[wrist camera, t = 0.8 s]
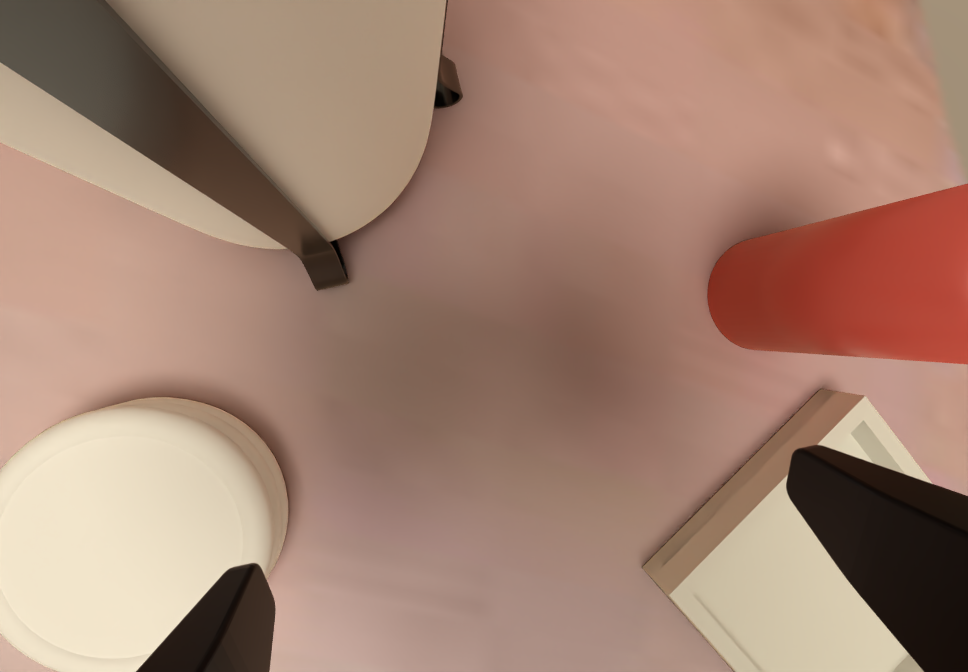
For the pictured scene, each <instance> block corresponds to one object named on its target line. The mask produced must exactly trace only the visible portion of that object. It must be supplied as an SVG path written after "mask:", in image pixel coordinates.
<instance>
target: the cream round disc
mask: <svg viewBox="0 0 968 672" xmlns="http://www.w3.org/2000/svg"><path fill="white" fill-rule="evenodd" d="M287 524H288V498H287V492H286V485H285V482H284V479H283V475H282V472H281V469H280V467H279V465H278V463H277V461H276V459H275V457H274V455H273V454H272V452H271V451H270V449H269V448H268V446H267V445H266V443H265V442H264V441H263V440H262V439H261V438H260V437H259V435H258V434H257V433H256V432H255V431H253V430H252V429H251V428H250V427H249V426H248V425H246V424H245V423H244V422H242V421H241V420H239V419H238V418H236V417H235V416H233V415H231V414H229V413H227V412H225V411H223V410H221V409H219V408H216V407H213V406H211V405H208V404H205V403H202V402H197V401H193V400H188V399H181V398H172V397H152V398H143V399H136V400H132V401H128V402H123V403H120V404H117V405H113V406H108V407H104V408H101V409H98V410H94V411H89V412H85V413H82V414H79V415H77V416H74V417H71V418H68V419H66V420H64V421H62V422H60V423H58V424H56V425H54V426H52V427H50V428H48V429H46V430H45V431H43V432H42V433H41V434H39V435H38V436H36V437H35V438H33V439H32V440H30V441H29V442H28V443H27V444H25V445H24V446H23V447H22V448H21V449H20V450H19V451H18V452H17V453H15V454H14V455H13V456H12V457H11V458H10V459H9V460H8V461H7V463H6V464H5V465H4V466H3V467H2V468H1V470H0V634H1V635H2V636H3V637H4V638H5V639H6V640H7V641H8V642H9V643H10V644H11V645H12V646H13V647H15V648H16V649H18V650H19V651H20V652H22V653H23V654H24V655H26V656H27V657H28V658H30V659H32V660H34V661H36V662H38V663H39V664H41V665H43V666H45V667H48V668H50V669H53V670H55V671H58V672H136V671H137V670H138V669H139V667H140V666H141V665H142V664H143V663H144V662H145V661H146V660H147V658H148V657H149V656H150V655H151V654H152V653H153V652H154V651H155V650H156V648H157V647H158V646H159V645H160V644H161V643H162V642H163V641H164V639H165V638H166V637H167V636H168V635H169V634H170V633H171V632H172V630H173V629H174V628H175V627H176V626H177V625H178V624H179V623H180V622H181V620H182V619H183V618H184V617H185V616H186V615H187V614H188V613H189V611H190V610H191V609H192V608H193V607H194V606H195V605H196V604H197V603H198V601H199V600H200V599H201V598H202V597H203V596H204V595H205V594H206V592H207V591H208V590H209V589H210V588H211V587H212V586H213V585H214V584H215V582H216V581H217V580H218V579H219V578H220V577H221V576H222V575H223V573H224V572H226V571H227V570H228V569H229V568H232V567H235V566H240V565H245V564H249V563H257V564H259V565H260V567H261V568H262V570H263V573H264V575H265V578H266V580H267V579H268V577H269V574H270V573H271V571H272V569H273V568H274V566H275V564H276V562H277V560H278V557H279V555H280V553H281V550H282V547H283V543H284V540H285V536H286V531H287Z"/></svg>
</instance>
